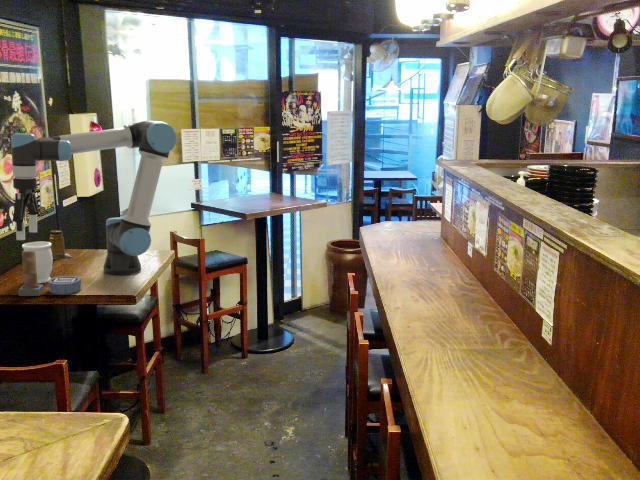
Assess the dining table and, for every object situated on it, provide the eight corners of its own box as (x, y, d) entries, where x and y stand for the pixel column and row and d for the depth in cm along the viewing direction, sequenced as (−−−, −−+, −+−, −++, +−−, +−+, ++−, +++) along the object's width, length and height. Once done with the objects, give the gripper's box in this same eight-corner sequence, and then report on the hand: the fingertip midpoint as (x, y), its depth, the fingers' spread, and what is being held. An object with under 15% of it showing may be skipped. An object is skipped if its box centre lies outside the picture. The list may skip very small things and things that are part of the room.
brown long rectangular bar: (38, 292, 224) (35, 250, 220) (36, 294, 222) (33, 252, 219) (26, 292, 223) (23, 250, 220) (24, 294, 221) (21, 252, 218)
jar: (42, 286, 232) (39, 248, 229) (18, 283, 234) (15, 245, 231) (59, 278, 242) (57, 242, 239) (36, 276, 244) (34, 240, 241)
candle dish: (83, 285, 234) (83, 275, 233) (77, 294, 224) (76, 284, 223) (53, 286, 232) (53, 276, 231) (45, 294, 222) (45, 284, 221)
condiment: (48, 256, 275) (46, 230, 272) (67, 254, 280) (66, 228, 277) (52, 259, 269) (50, 233, 267) (72, 257, 274) (70, 231, 272)
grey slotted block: (43, 290, 226) (43, 284, 225) (39, 295, 221) (39, 289, 220) (23, 291, 225) (23, 284, 224) (19, 296, 219) (18, 289, 219)
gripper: (25, 173, 226) (27, 228, 230) (0, 181, 202) (3, 243, 206) (46, 174, 227) (48, 229, 231) (24, 182, 203) (26, 243, 207)
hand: (27, 236), depth 219 cm, fingers open, 13 cm apart
